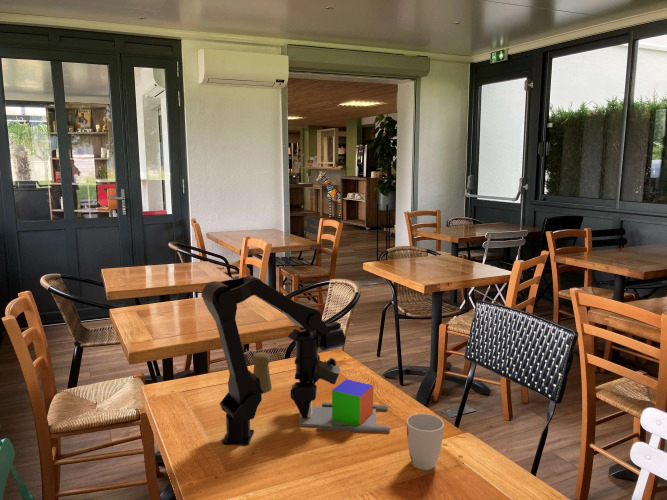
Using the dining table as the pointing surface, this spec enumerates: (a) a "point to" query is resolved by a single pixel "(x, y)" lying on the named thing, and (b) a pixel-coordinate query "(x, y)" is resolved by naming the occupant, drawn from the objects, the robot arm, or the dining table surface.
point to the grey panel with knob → (328, 417)
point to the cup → (424, 439)
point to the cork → (262, 370)
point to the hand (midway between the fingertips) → (307, 410)
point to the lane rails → (355, 427)
